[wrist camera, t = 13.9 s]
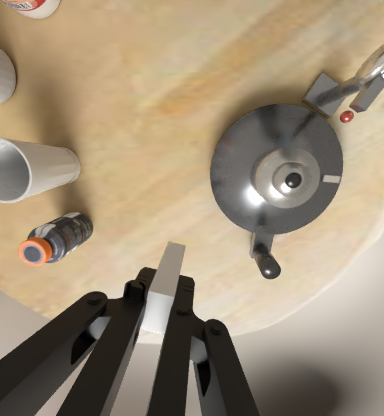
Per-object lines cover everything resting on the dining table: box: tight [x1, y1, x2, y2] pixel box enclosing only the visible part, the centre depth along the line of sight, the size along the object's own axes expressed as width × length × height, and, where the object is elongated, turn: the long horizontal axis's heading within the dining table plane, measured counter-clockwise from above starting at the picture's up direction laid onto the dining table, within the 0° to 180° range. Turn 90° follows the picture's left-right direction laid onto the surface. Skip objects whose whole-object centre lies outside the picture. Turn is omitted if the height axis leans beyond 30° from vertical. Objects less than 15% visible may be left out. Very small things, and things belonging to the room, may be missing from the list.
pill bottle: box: [19, 212, 93, 266], centre depth 35 cm, size 6×6×11 cm
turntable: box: [210, 104, 343, 279], centre depth 32 cm, size 25×20×7 cm
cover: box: [250, 148, 320, 208], centre depth 30 cm, size 8×8×7 cm
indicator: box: [302, 44, 384, 123], centre depth 26 cm, size 8×5×14 cm, turn 148°
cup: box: [0, 138, 81, 203], centre depth 32 cm, size 8×8×12 cm
